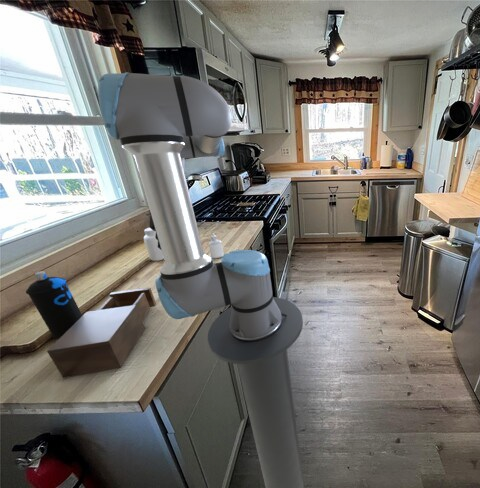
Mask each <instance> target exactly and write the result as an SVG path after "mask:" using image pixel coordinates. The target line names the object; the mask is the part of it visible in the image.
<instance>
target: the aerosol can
mask: <svg viewBox="0 0 480 488" xmlns="http://www.w3.org/2000/svg"><path fill="white" fill-rule="evenodd" d="M34 276H35V278H36V280H35V281H34V282H32V283H31V284H29V286H28V287H27V289H26V290H25V294H27V295H28V296H29V298H30V300H31V302H32V303H33V305H34V306H35V309H36V310H37V311H38V313H39V315H40V317H41V319H42V320H43V322H44V323H45V325H46V327H47V328H48V330H49V332H50V335H51V336H50V337H51V338H53V339H60V338H61V337H62V336H63V335H64V334H65V333H66V332H67V331H68V330H69V329H70V328H71V327H72V326H73V325H74V324H75V323H76V322H77V321H78V320H79V319H80V318H81V317H82V316H83V314H82V312H81V309H80V308H79V306H78V304H77V302H76V300H75V298H74V296H73V294H72V292H71V290H70V288H69V286H68V284H67V279H66V278H63V277H60V276H48V275H47V274H46V272H45V271H44V270H42V271H41V270H40V271H37V272H35V273H34Z"/></svg>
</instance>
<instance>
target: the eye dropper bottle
mask: <svg viewBox="0 0 480 488" xmlns="http://www.w3.org/2000/svg"><path fill="white" fill-rule="evenodd" d="M210 239H211V240H210V241H209V242H208V248H209V252H210V257H211V258H212V259H220V258H222V257H223V256H224V255H225V253H224V248H223V244H222V240H220V239H218V238H217V235H215V233H214V232H213V233H211V236H210Z"/></svg>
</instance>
